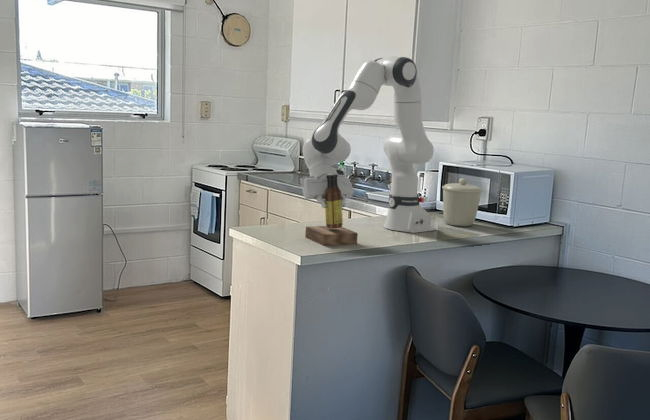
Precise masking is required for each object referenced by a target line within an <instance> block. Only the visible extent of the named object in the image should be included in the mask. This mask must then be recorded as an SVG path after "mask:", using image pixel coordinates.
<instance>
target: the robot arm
mask: <svg viewBox="0 0 650 420" xmlns="http://www.w3.org/2000/svg"><path fill="white" fill-rule="evenodd" d="M417 69H418V68H417V66H416V63H415V62H414V60H413V59H411V58H409V57H407V56H401V57H399V56H389V57H384V58H383V57H380V58H377V59H375V60H368V61H364V63H363V64H362V65H361V66H360V67H359V69H358V70H357V72H356V74H355V75H354V77H353V78H352V81H351V83H350V85H349V86H348V88H347V90H344V91H343V92H342V93H341V94H340V95H339V96H338V97H337V99H336V101H335V102H334V103H333V106H332V107H331V108H330V110H329V112H328V113H327V115H326V117H325V118H324V119H323V121H322V122H321V123H320V125H318V126H317V127H316V128H315V129H314V131H313V132H312V135H311V138H310V139H308V140H306V141H305V142H304V143H303V146H302V155H303V159H304V163H305V165H306V167H307V168H308V172H309V176H308V175H307V176H306V175H305V176H302V177H300V179H299V182H300V184H301V190H302V195H303V197H304V198H305V199H306V200H316V201H317V202H318V203H319V204H320V205H321V208H322V209H325V208H327V206H328V204H327V203H326V202H325V190H326V188H327V178H326V175H327V174H330V173H336V174H337V176H338V177H337V184H338V187H339V189H340V191H341V199H342V208H345V207H346V203H345V202H346V201H345V200H346V199H350V198H351V197H352V196H353V195H354V192H355V189H354V187H353V185H352V183H351V180H350V179H349V178H348V177H346V176H347V172H346V171H345V170H342V169H339V168H335V167H333V166H336V165H338V164H341V163H342V162H345V161H346V160H347V159H348V158H349V156H350V153H351V150H352V149H351V148H352V147H351V145H350V143H349V142H348V141H347V140H346V139H345V138H344V137H343V136H342V135H341V134H340V133H339V130H340V126H341V125H342V123H343V122H344V120H345V119H346V117H347V115H349V114H348V113H349V112H350V111H353V110H357V111H365V110H368V109H370V108H371V107H372V105H374V102H375V101H376V99H377V97H378V94H379V93H380V90H381V87H382V86H389V87H393V90H394V91H393V92H394V93H393V94H394V95H393V106H394V107H393V114H394V115H393V118H394V122H395V124H396V125H397V127H398V130H399V131H400V134H393V135H390V136H388V137H387V138H386V139H385V141H384V142H383V152H384V153H385V155H386V157H387V159H388V161H389V165H390V171H391V173H390V174H391V186H390V193H389V194H388V195H389V196H388V211H387V216H386V219H385V221H384V224H383V228H385V229H387V230H393V231H396V232H405V233H411V234H415V233H424V232H432V231H436V230H437V228H436V227H435V226H434V225H432V223H431V221H432V218H431V215H430V214H429V212H428V211H426V210H425V209H424V207H422V206H421V205H420V203H424V201H425V197H419V196H418V190H419V189H418V188H419V181H420V179H419V176H418V174H417V173H416V171H415V168H414V165H420V164H421V165H422V164H426V163H428V162H430V161H431V159H432V158H433V156H434V152H435V151H434V150H435V149H434V146H433V143H432V142H431V141H430V140H429V138H428V136H427V134H426V131H425V128H424V123H423V117H422V116H423V113H422V112H423V111H422V110H423V109H422V88H421V83H420V79H419V77H418V75H417V74H418V71H417ZM413 164H414V165H413Z"/></svg>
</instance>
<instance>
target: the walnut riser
mask: <svg viewBox="0 0 650 420" xmlns="http://www.w3.org/2000/svg"><path fill="white" fill-rule="evenodd" d="M304 235H305V238H307V239H309V240H310V241H313V242H315V243H317V244H319V245H322V246H323V247H325V246H339V245H340V246H342V245H356V244H358V236H359V235H358V232H356V231H354V230H351V229H348V228H346V227H343V226H342V227H340V228H328V227H327V226H326V225H317V226H316V225H315V226H305V234H304Z"/></svg>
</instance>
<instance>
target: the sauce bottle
mask: <svg viewBox="0 0 650 420" xmlns="http://www.w3.org/2000/svg"><path fill="white" fill-rule="evenodd" d="M337 177H338V176H337V174H336V173H330V174H327V175H326V178H327V188H326V190H325V199H324V201H325V202H326V203H327V204H328V206H327V208H324V211H325V226H327V227H328V228H340V227H343V219H344V218H343V207H342V199H341V191H340V189H339V187H338V184H337Z"/></svg>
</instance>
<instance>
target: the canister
mask: <svg viewBox="0 0 650 420" xmlns="http://www.w3.org/2000/svg"><path fill="white" fill-rule="evenodd" d="M441 188H442V209H443V210H442V212H443V213H442V215H443V216H442V217H443V221H444V223H446V224H447V225H451V226H453V227H470V226H472V225H474V223H475V221H476V217H477V213H478V210H479V205H480V200H481V196H482V193H483V192H484V190H483V189H481V187H479V186H476V185H473V184H468V179H466V178H464V177H462V178H459V180H458V182H457V183H456V182H455V183H452V182H451V183H447V184H446V183H445V184H444V185H442V186H441Z"/></svg>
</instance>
